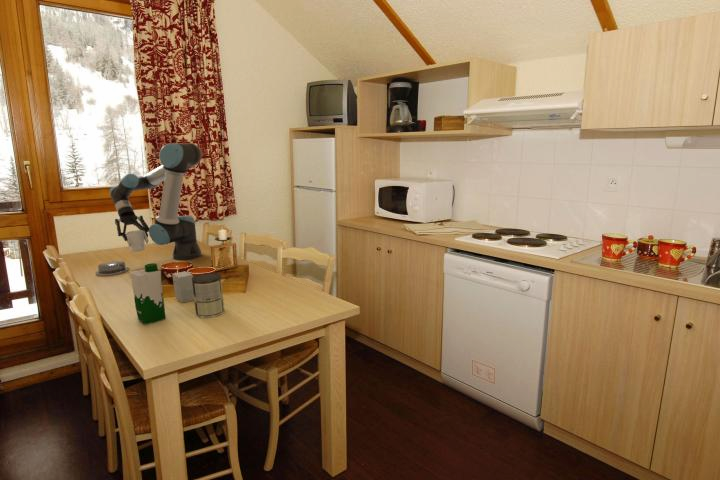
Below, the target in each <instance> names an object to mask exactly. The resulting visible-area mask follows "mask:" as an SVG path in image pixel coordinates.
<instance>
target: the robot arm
mask: <svg viewBox="0 0 720 480" xmlns="http://www.w3.org/2000/svg"><path fill="white" fill-rule="evenodd" d="M202 153H203V152H202V150H201V149H200V147H199V146H198V145H196V144H194V143H191V142H179V143H178V142H171V143H167V144H165V145H163V146H162V147H161V149H160V151H159V154H158V156H159V157H158V158H159V161H160V164H161V165H160V166H158V167H156V168H155V169H153V170H151V171H149V172H147V174H144V175H138V176H137V175H136V174H134V173H130V172H129V173H126V174H125V175H123V177H122V178H121V180H120V182H119V183H118V185H113V186H112V187H110V189H109V195H110V198H111V200H112V202H113V204H114V208H115V209H116V212H117V214H118V217H119V218H115V219H114V223H115V225H116V230H117V236H118V237H122V238H123V240H124V241H125V242H126V243H127V245H128V247H130V246H131V241H130V239H129V236H128V235H127V228H128V227H127V226H134V227H136V228H137V230H143V231H144V241H145V244H149V237H150V239H151V241H152V242H153V243H155V244H157V245H159V246H163V245H169V244H171V243H174V247H173V251H172V259H174V260H191V259H196V258H199V257H201V256H202V250H201V247H200V246H199V244H198V240H197V232H196V231H197V230H196V221H195V218H194V216H190V215H184V216H183V215H178V212H179V207H180V200H181V193H182V190H183V189H182V188H183V183H184V182H183V181H184V175H186V174H188V169H191V168H193V167H195V166H197V165H198V164H200V162H201V160H202V157H203V154H202ZM162 182H163V187H162V195H161V201H160V207H159V208H160V209H159V214H158V215H157V216H155V221H154V223H152V224H151V225H150V226H149V225H148V224H147V222H146V221H145V220H144V216H143V215H140V216H138V215H136V213H135V211H134V209H133V206H132V204H131V201H130V199H129V197H130V196H131V194H133V192H136V191H142V190H152V189H155V188H157V187H158V186H159V184H160V183H162ZM121 223H123V229H121ZM122 230H123V231H122Z"/></svg>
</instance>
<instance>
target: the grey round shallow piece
mask: <svg viewBox="0 0 720 480" xmlns="http://www.w3.org/2000/svg"><path fill="white" fill-rule="evenodd" d="M97 268H98V270H97V271H95V276H99V277H108V276H117V275H121V274H124V273H127V272H128V270H130V267H128V266H126V262H125V260H124V261H123V260H113V261H107V262H102V263H100V264H98V265H97Z"/></svg>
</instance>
